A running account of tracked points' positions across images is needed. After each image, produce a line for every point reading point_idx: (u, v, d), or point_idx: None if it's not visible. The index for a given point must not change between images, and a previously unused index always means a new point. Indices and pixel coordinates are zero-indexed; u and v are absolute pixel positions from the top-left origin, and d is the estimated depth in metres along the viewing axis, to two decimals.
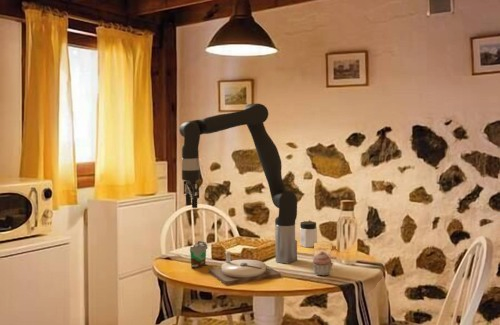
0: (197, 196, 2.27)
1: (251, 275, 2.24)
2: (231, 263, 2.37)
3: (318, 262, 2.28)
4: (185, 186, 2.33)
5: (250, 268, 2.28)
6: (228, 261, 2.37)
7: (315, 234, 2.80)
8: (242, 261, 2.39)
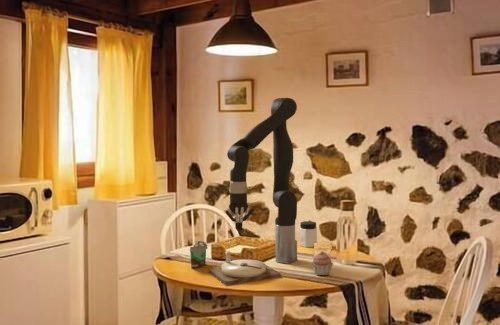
0: None
1: (251, 275, 2.24)
2: (231, 263, 2.37)
3: (318, 262, 2.28)
4: (236, 210, 2.37)
5: (250, 268, 2.28)
6: (228, 261, 2.37)
7: (315, 234, 2.80)
8: (242, 261, 2.39)
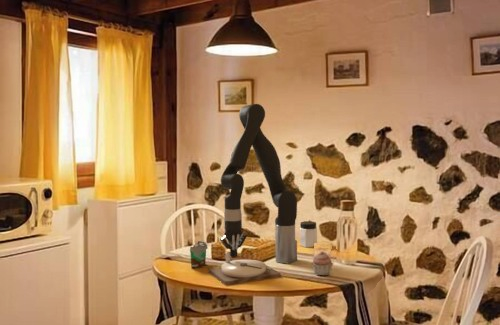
0: None
1: (251, 275, 2.24)
2: (231, 263, 2.36)
3: (318, 262, 2.28)
4: (233, 237, 2.37)
5: (250, 268, 2.28)
6: (228, 261, 2.37)
7: (315, 234, 2.80)
8: (242, 261, 2.39)
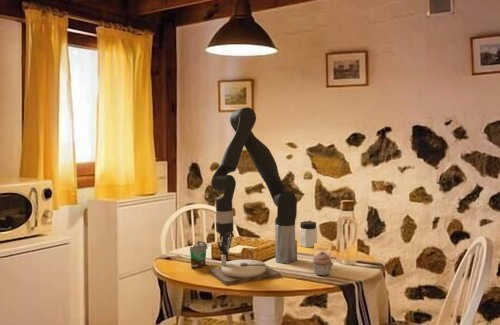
0: None
1: (262, 273, 2.28)
2: (228, 265, 2.33)
3: (318, 262, 2.28)
4: (228, 239, 2.33)
5: (255, 266, 2.31)
6: (225, 264, 2.33)
7: (315, 234, 2.80)
8: (234, 262, 2.38)
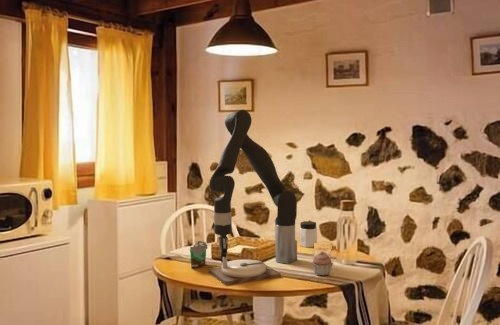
0: None
1: (265, 270, 2.31)
2: (230, 267, 2.30)
3: (318, 262, 2.28)
4: None
5: (256, 265, 2.33)
6: (227, 266, 2.29)
7: (315, 234, 2.80)
8: (230, 263, 2.36)
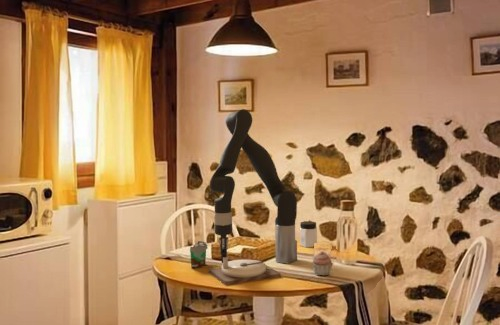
0: None
1: (265, 270, 2.32)
2: (230, 267, 2.30)
3: (318, 262, 2.28)
4: None
5: (256, 264, 2.33)
6: (227, 266, 2.29)
7: (315, 234, 2.80)
8: (230, 264, 2.35)
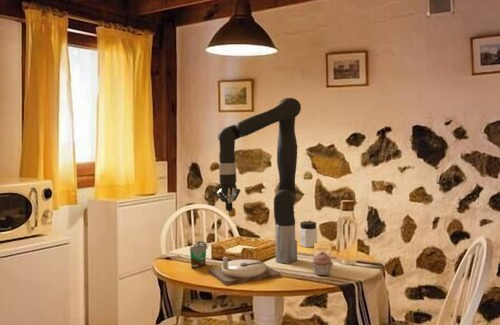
0: None
1: (265, 270, 2.32)
2: (230, 267, 2.30)
3: (318, 262, 2.28)
4: (228, 190, 2.44)
5: (256, 264, 2.33)
6: (227, 266, 2.29)
7: (315, 234, 2.80)
8: (230, 264, 2.35)
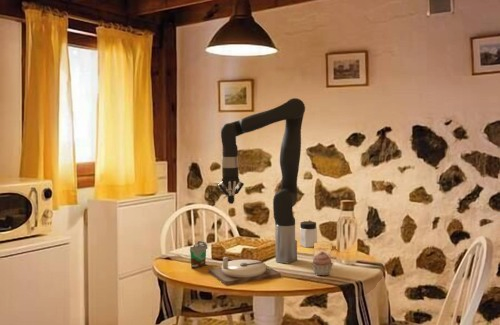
0: None
1: (265, 270, 2.32)
2: (230, 267, 2.30)
3: (318, 262, 2.28)
4: (229, 183, 2.51)
5: (256, 264, 2.33)
6: (227, 266, 2.29)
7: (315, 234, 2.80)
8: (230, 264, 2.35)
